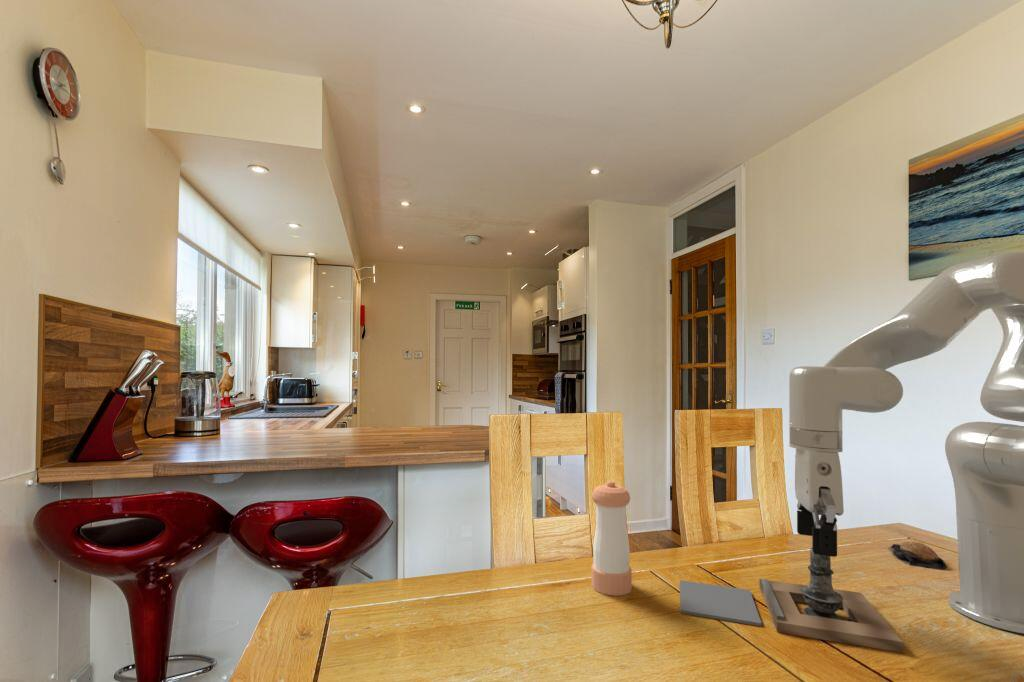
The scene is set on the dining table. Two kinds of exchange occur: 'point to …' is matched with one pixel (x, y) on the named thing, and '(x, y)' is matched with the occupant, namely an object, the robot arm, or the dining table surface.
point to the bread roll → (917, 555)
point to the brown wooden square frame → (860, 631)
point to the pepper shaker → (611, 541)
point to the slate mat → (718, 602)
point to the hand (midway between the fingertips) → (815, 544)
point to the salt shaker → (821, 589)
